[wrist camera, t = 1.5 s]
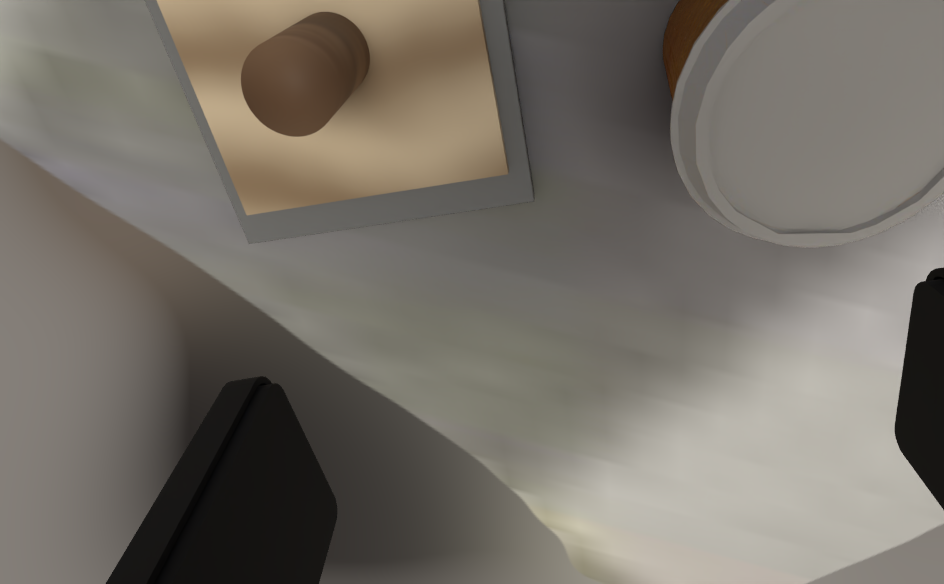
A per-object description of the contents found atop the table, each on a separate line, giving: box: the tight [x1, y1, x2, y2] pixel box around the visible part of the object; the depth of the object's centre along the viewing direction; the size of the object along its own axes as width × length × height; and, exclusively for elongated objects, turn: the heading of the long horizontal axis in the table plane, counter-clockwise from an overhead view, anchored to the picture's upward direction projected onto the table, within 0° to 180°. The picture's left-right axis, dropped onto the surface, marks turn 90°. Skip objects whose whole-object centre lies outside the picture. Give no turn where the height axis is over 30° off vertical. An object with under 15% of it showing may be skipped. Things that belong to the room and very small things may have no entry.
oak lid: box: [157, 0, 509, 215], centre depth 27 cm, size 14×14×7 cm
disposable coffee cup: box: [663, 0, 944, 248], centre depth 24 cm, size 10×10×12 cm
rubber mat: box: [145, 0, 534, 244], centre depth 30 cm, size 18×16×1 cm
